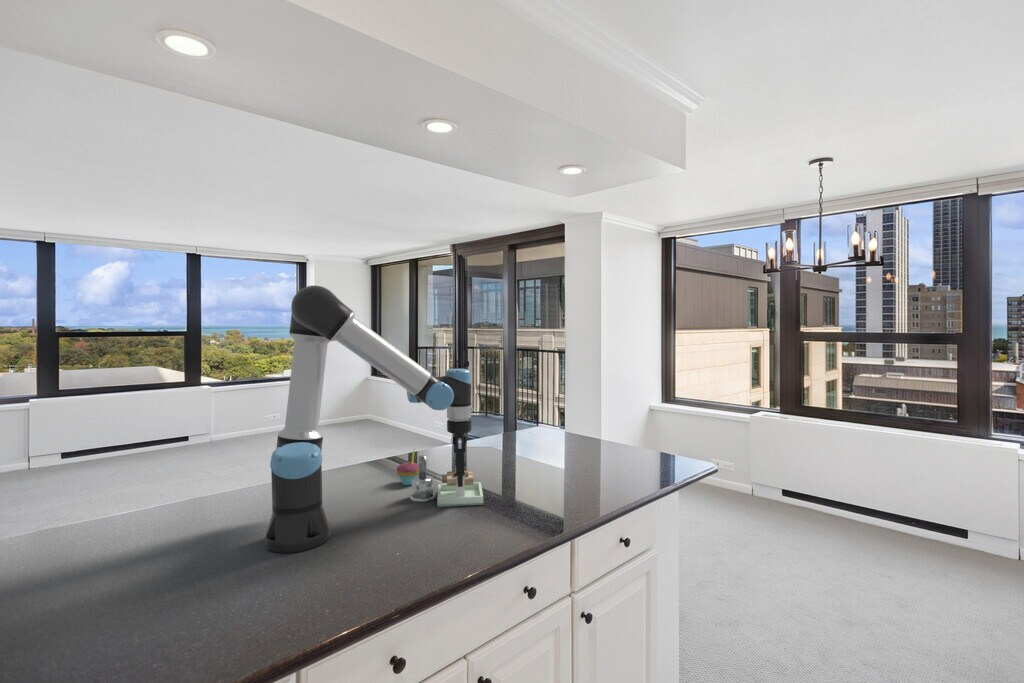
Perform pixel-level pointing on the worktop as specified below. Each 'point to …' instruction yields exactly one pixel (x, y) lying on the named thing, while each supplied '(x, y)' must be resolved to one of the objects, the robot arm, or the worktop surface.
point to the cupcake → (408, 471)
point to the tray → (449, 497)
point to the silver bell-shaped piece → (422, 484)
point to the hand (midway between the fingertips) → (460, 491)
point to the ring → (451, 479)
